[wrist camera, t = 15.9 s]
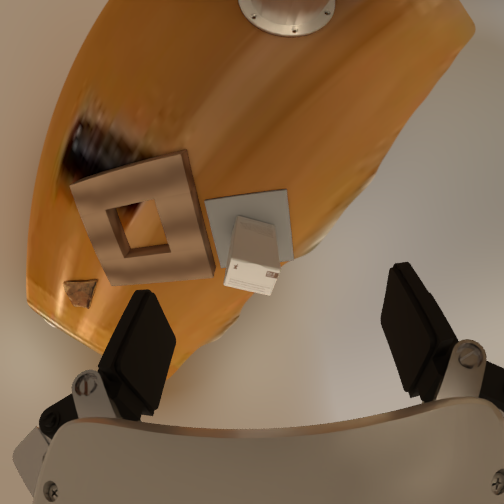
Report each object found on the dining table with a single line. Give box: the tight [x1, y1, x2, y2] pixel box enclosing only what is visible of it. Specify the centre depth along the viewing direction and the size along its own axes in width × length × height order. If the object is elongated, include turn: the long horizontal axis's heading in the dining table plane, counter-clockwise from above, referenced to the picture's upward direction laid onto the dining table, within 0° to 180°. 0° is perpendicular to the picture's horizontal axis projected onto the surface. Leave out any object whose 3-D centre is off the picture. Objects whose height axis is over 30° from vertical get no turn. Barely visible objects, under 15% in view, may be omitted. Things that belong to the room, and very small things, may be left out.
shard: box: [63, 279, 97, 309], centre depth 52 cm, size 11×8×2 cm
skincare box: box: [224, 216, 281, 296], centre depth 37 cm, size 6×4×12 cm
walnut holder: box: [70, 150, 216, 286], centre depth 42 cm, size 20×20×3 cm
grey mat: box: [205, 189, 294, 268], centre depth 43 cm, size 12×12×1 cm
